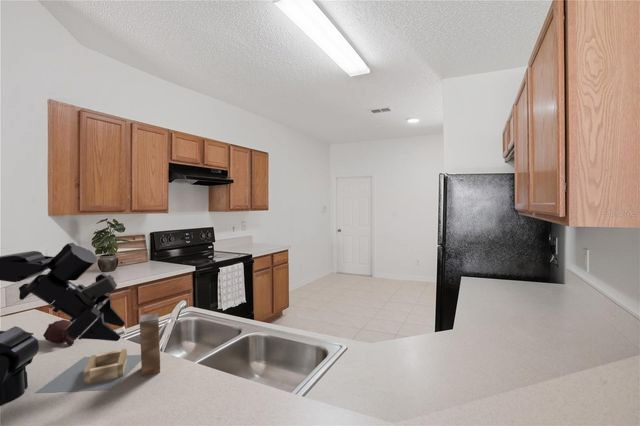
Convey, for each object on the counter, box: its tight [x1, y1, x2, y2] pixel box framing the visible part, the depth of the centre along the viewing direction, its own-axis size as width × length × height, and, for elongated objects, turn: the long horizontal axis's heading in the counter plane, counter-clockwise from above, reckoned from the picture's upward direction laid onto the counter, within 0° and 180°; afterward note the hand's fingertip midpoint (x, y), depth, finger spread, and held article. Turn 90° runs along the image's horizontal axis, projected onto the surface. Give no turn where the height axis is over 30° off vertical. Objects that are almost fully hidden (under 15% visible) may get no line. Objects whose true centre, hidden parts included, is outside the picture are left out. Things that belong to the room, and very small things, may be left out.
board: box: [34, 354, 141, 394], centre depth 79 cm, size 16×17×1 cm
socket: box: [83, 348, 128, 385], centre depth 79 cm, size 8×9×3 cm
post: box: [139, 312, 161, 378], centre depth 79 cm, size 4×5×15 cm
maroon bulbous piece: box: [42, 319, 75, 346], centre depth 98 cm, size 7×7×15 cm
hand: (121, 331), depth 76 cm, fingers open, 9 cm apart
